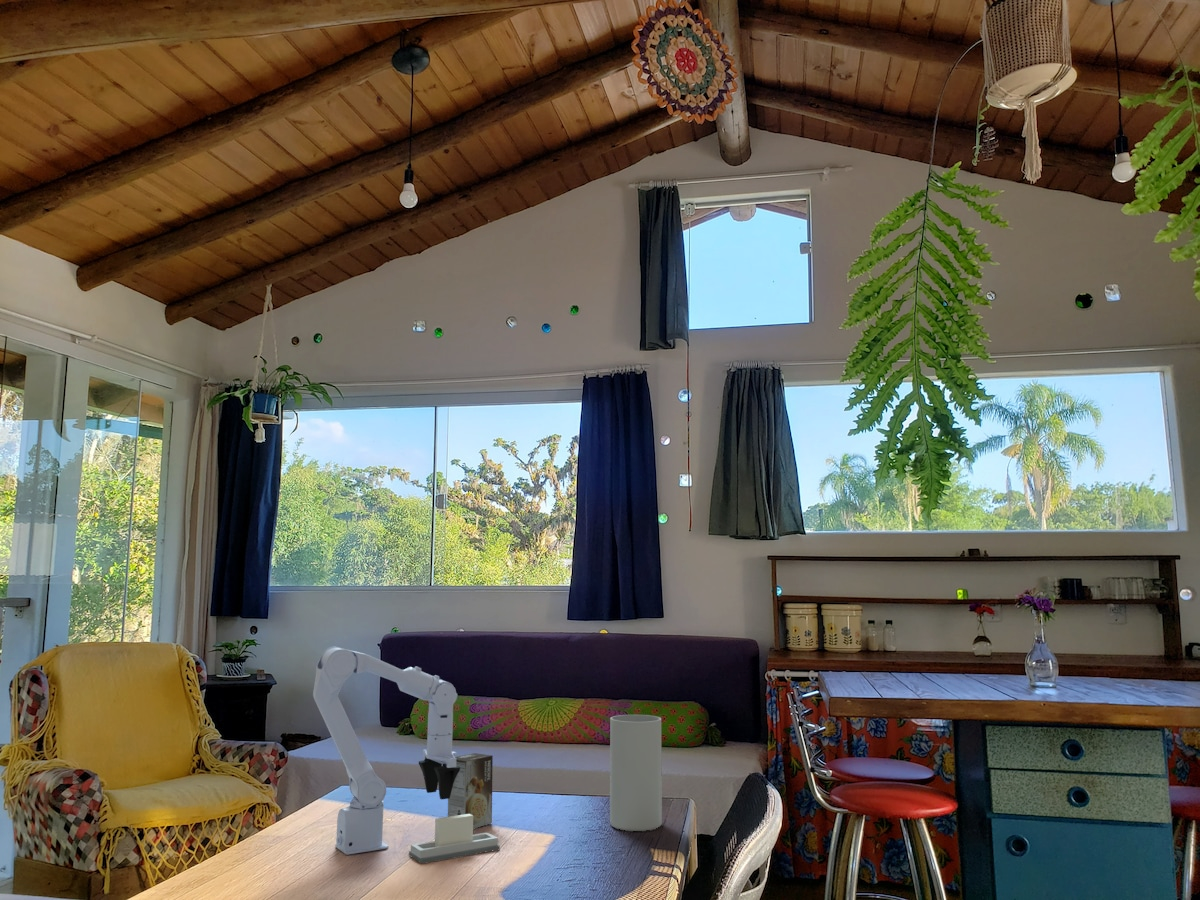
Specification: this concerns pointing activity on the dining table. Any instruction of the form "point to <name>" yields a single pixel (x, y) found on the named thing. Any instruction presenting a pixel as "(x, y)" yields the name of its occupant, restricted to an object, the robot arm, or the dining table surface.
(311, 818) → the dining table surface
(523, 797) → the dining table surface
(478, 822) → the coffee box
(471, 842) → the track base
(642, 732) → the cylinder vase
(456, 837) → the door panel
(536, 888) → the dining table surface
